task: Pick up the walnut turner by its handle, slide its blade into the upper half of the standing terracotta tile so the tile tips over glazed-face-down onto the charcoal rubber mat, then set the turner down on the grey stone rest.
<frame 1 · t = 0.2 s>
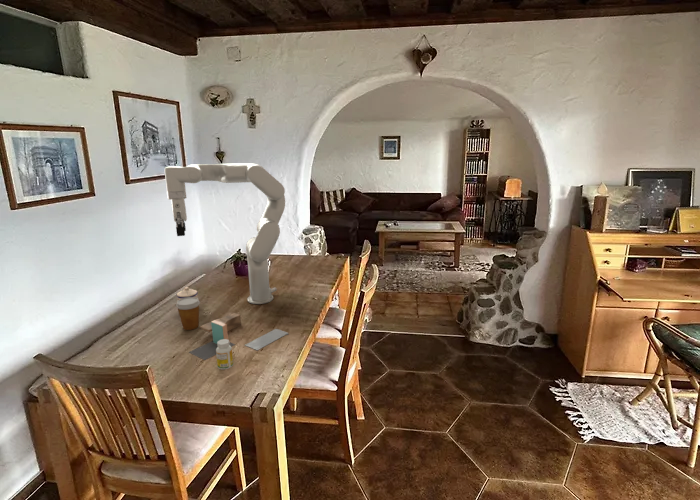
hand: (181, 233, 184), 37 cm above the table, tool pointing down, fingers open, 9 cm apart
supplement bottle: (225, 366, 146), on the table
mat: (212, 349, 157), on the table
disposable coffee cup: (191, 327, 176), on the table
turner: (230, 327, 175), on the table
rest: (267, 340, 164), on the table
teacup with lid: (191, 310, 194), on the table
tile: (221, 344, 160), resting on mat
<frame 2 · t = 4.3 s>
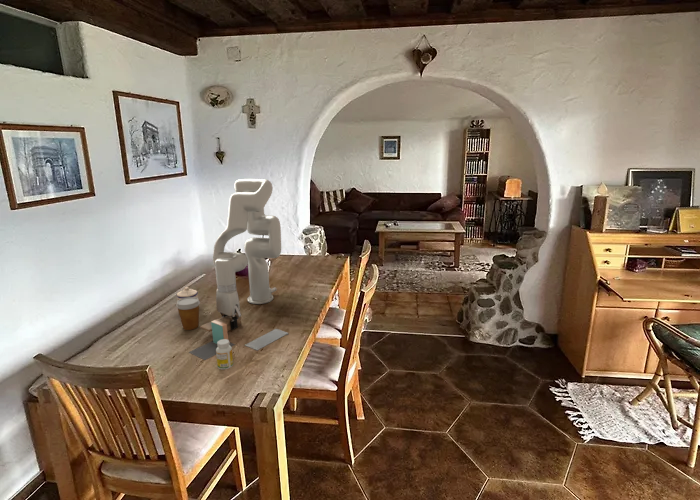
hand: (230, 327, 175), 0 cm above the table, tool pointing down, fingers closed on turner, 4 cm apart
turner: (230, 327, 175), on the table, touching gripper
everything else where it was.
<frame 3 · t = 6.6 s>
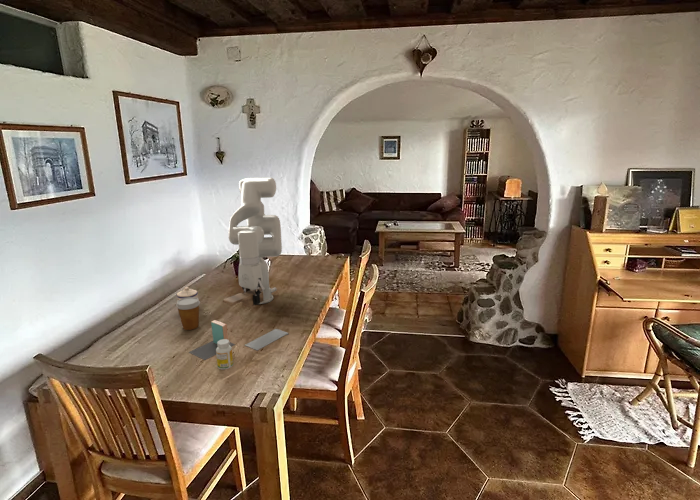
hand: (252, 302, 171), 12 cm above the table, tool pointing down, fingers closed on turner, 4 cm apart
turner: (253, 303, 171), point 12 cm above the table, touching gripper
everything else where it was.
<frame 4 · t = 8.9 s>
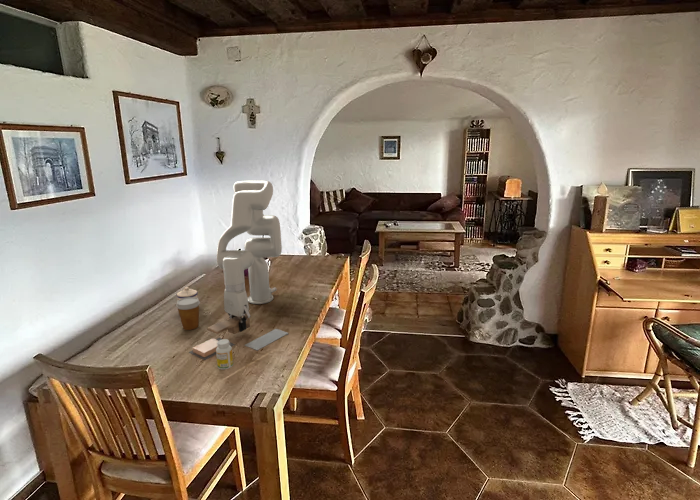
hand: (238, 328, 167), 3 cm above the table, tool pointing down, fingers closed on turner, 4 cm apart
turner: (239, 329, 167), point 3 cm above the table, touching gripper
tile: (218, 342, 159), point 1 cm above the table, tilted 90°, touching mat
everything else where it was.
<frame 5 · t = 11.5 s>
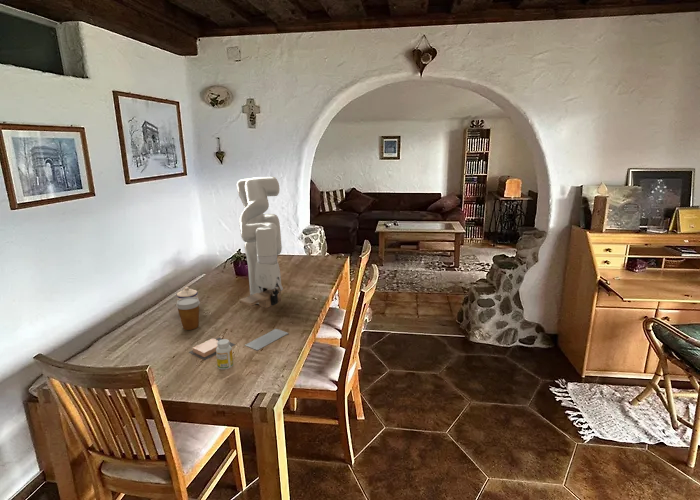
hand: (270, 302, 162), 15 cm above the table, tool pointing down, fingers closed on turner, 4 cm apart
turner: (270, 303, 163), point 15 cm above the table, touching gripper
everything else where it was.
when the fingers open (2 cm above the table, at t = 13.8 s): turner stays where it is, resting on rest.
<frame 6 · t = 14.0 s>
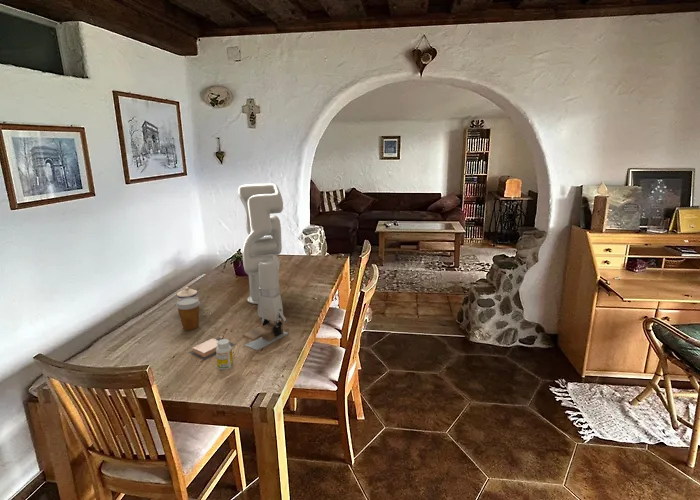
hand: (272, 332, 166), 2 cm above the table, tool pointing down, fingers open, 5 cm apart
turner: (272, 335, 166), point 1 cm above the table, touching rest
everything else where it was.
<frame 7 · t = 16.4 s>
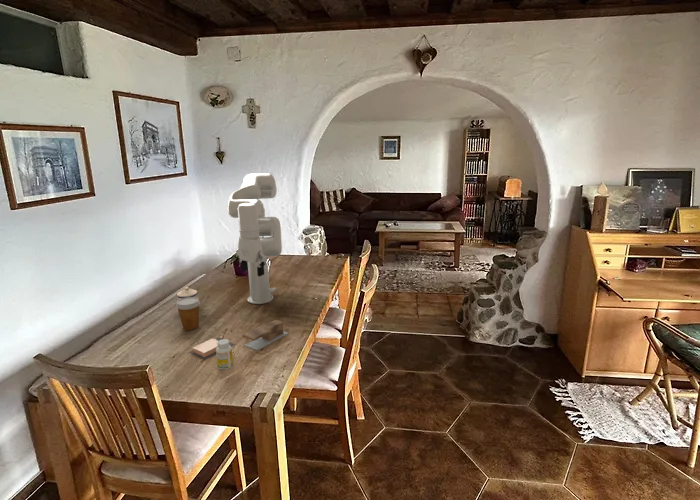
hand: (252, 273, 172), 23 cm above the table, tool pointing down, fingers open, 9 cm apart
nothing on the table moved.
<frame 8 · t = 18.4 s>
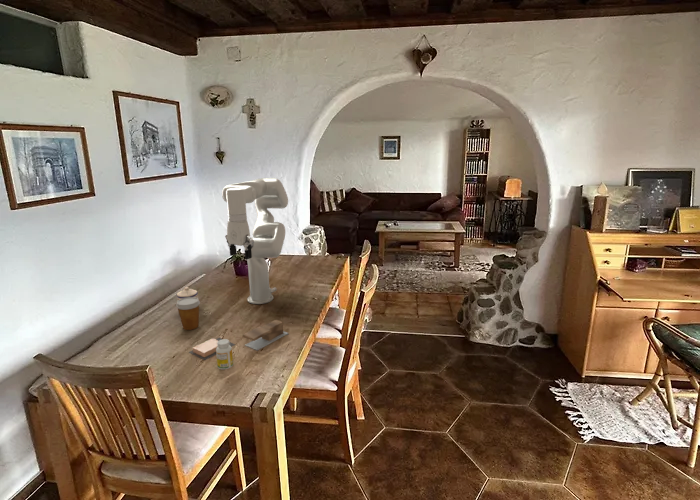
hand: (240, 256, 178), 28 cm above the table, tool pointing down, fingers open, 9 cm apart
nothing on the table moved.
at the end: tile tilted 90°; tile inside the target area on the mat (3.4 cm from its centre), point 1.4 cm above the mat's base; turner inside the target area on the rest (1.1 cm from its centre), point 0.6 cm above the rest's base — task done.
